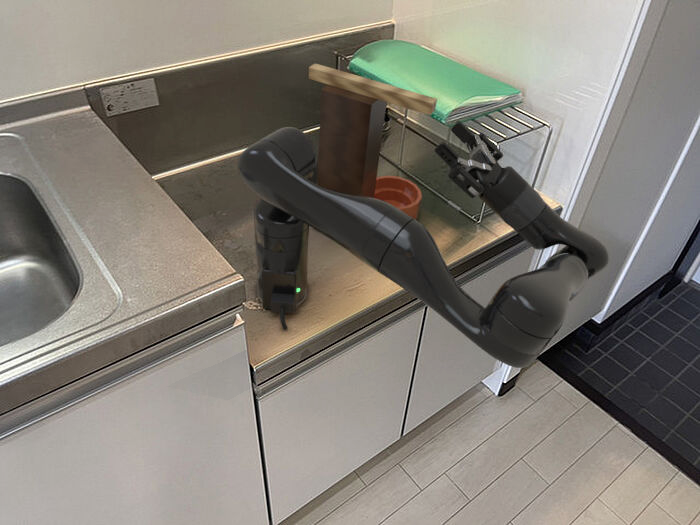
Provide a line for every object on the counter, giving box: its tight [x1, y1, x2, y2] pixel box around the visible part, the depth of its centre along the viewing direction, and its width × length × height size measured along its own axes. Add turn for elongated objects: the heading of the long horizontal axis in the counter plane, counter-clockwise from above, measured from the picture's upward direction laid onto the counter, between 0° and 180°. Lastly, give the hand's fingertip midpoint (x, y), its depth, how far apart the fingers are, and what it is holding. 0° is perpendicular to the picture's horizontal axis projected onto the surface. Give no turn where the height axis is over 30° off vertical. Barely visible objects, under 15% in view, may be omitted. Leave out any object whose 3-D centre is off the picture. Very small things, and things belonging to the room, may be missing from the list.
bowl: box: [374, 175, 423, 220], centre depth 122 cm, size 13×13×6 cm
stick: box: [308, 63, 438, 116], centre depth 96 cm, size 24×2×2 cm, turn 63°
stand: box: [317, 84, 387, 198], centre depth 108 cm, size 10×7×32 cm
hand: (446, 134), depth 94 cm, fingers open, 8 cm apart
